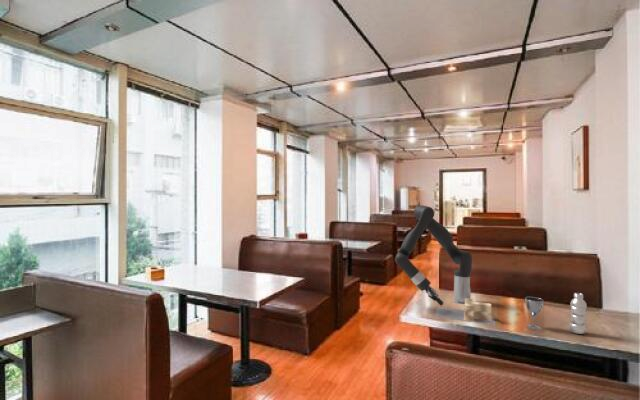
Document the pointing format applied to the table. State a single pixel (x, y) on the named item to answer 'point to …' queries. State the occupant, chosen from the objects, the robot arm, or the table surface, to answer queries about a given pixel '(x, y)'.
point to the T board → (460, 316)
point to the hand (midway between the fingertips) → (442, 304)
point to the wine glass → (534, 309)
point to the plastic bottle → (578, 314)
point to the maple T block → (477, 310)
